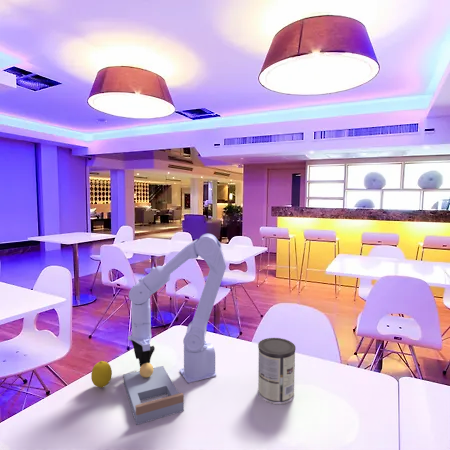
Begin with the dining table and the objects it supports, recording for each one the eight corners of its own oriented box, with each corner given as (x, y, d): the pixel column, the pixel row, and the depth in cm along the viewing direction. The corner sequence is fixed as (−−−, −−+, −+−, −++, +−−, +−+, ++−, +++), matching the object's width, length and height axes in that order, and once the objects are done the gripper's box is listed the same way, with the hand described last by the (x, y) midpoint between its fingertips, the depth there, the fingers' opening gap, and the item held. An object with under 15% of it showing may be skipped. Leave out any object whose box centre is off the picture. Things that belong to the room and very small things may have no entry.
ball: (151, 371, 97) (151, 359, 97) (154, 378, 94) (154, 365, 94) (138, 374, 96) (138, 362, 95) (141, 381, 92) (140, 368, 92)
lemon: (105, 394, 90) (104, 367, 89) (87, 392, 91) (86, 364, 90) (115, 383, 95) (115, 357, 95) (99, 381, 97) (98, 355, 96)
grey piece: (163, 373, 101) (162, 359, 101) (183, 410, 83) (183, 394, 83) (123, 382, 96) (123, 368, 96) (136, 424, 78) (136, 407, 78)
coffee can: (263, 379, 98) (264, 334, 97) (297, 388, 94) (299, 341, 93) (252, 398, 89) (253, 349, 88) (289, 409, 84) (290, 357, 83)
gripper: (124, 315, 104) (124, 355, 105) (132, 332, 91) (133, 378, 92) (146, 312, 107) (146, 351, 108) (156, 328, 94) (157, 372, 95)
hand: (141, 363), depth 101 cm, fingers open, 7 cm apart
